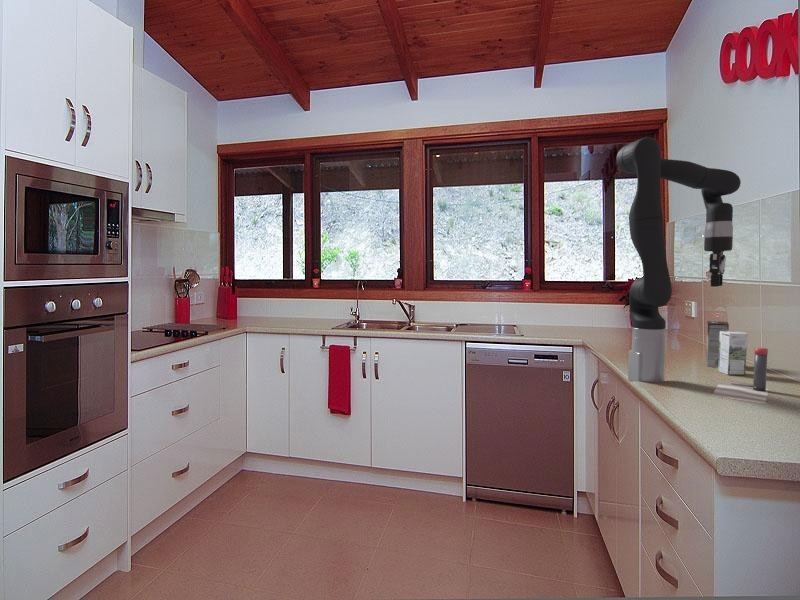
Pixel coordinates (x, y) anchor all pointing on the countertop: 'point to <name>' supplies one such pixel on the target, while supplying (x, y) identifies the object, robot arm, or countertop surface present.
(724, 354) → the syrup box
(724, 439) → the countertop surface
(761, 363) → the marker
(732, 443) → the countertop surface
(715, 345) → the coffee box
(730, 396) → the clipboard
